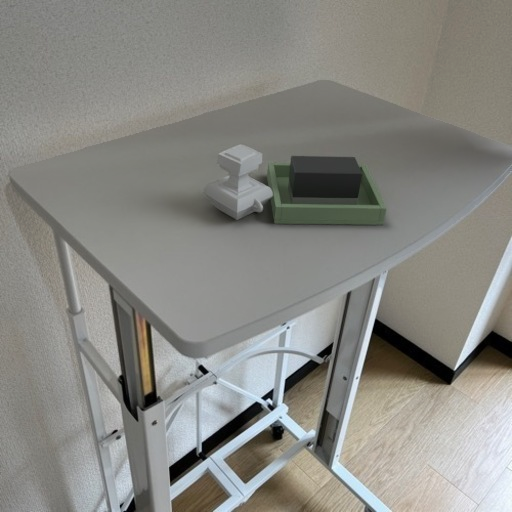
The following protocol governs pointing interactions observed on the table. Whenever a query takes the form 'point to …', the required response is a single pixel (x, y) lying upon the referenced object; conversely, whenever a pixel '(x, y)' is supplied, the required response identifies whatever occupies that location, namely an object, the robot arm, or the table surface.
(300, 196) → the eraser
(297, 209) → the tray
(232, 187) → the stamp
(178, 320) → the table surface
